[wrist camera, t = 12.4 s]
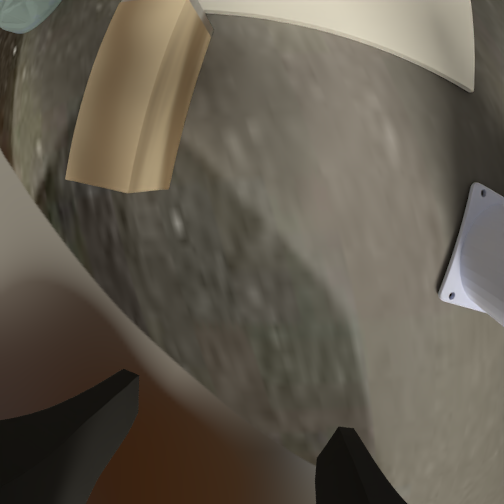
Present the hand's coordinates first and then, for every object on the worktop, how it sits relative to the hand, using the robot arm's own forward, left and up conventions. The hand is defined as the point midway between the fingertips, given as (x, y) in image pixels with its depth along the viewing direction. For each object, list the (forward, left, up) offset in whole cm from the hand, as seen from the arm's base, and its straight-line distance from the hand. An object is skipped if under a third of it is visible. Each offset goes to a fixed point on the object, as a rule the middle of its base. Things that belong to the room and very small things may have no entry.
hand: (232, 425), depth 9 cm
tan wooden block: (+9, -11, -10) cm, 17 cm away
